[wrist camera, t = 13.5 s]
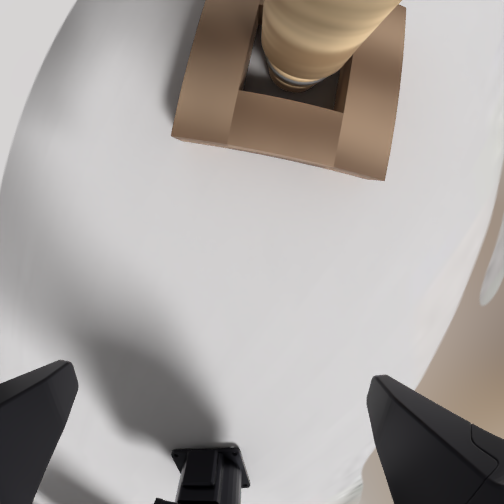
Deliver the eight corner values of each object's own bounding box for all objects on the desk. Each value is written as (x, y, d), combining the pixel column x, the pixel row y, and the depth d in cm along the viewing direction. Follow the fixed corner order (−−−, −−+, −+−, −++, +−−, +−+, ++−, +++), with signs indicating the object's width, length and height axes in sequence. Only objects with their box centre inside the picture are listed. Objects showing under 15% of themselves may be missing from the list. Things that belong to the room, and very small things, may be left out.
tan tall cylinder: (333, 98, 18) (436, 11, 6) (265, 105, 19) (284, 1, 6) (320, 39, 17) (389, -86, 5) (254, 44, 18) (256, -95, 5)
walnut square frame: (367, 179, 20) (384, 180, 17) (182, 141, 19) (171, 136, 16) (389, 24, 17) (406, 7, 14) (222, -15, 16) (218, -37, 13)
